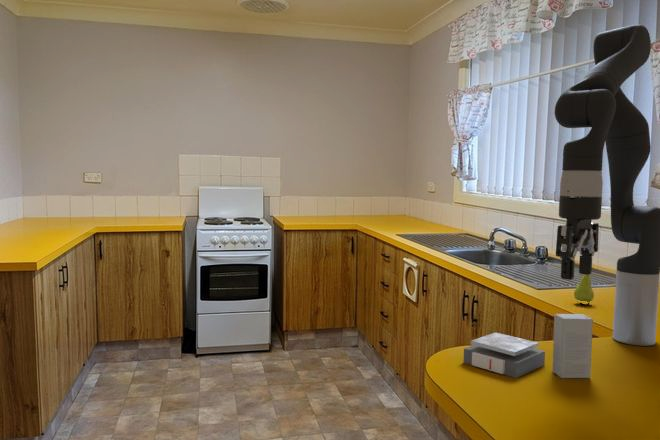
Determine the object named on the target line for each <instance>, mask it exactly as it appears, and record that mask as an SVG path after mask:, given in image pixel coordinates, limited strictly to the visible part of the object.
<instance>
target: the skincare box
mask: <svg viewBox="0 0 660 440" xmlns="http://www.w3.org/2000/svg"><path fill="white" fill-rule="evenodd" d="M553 321H554V324H553V344H552V346H553V348H552V372H553V373H554V374H556V375H557V377H559V378H560V379H591V375H592V374H591V373H592V372H591V371H592V353H593V351H592V349H593V348H592V347H593V346H592V345H593V326H594V325H593V324H594V319H593V318H592V317H590V316H587V315H586V314H583V313H579V314H578V313H554V319H553Z"/></svg>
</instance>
